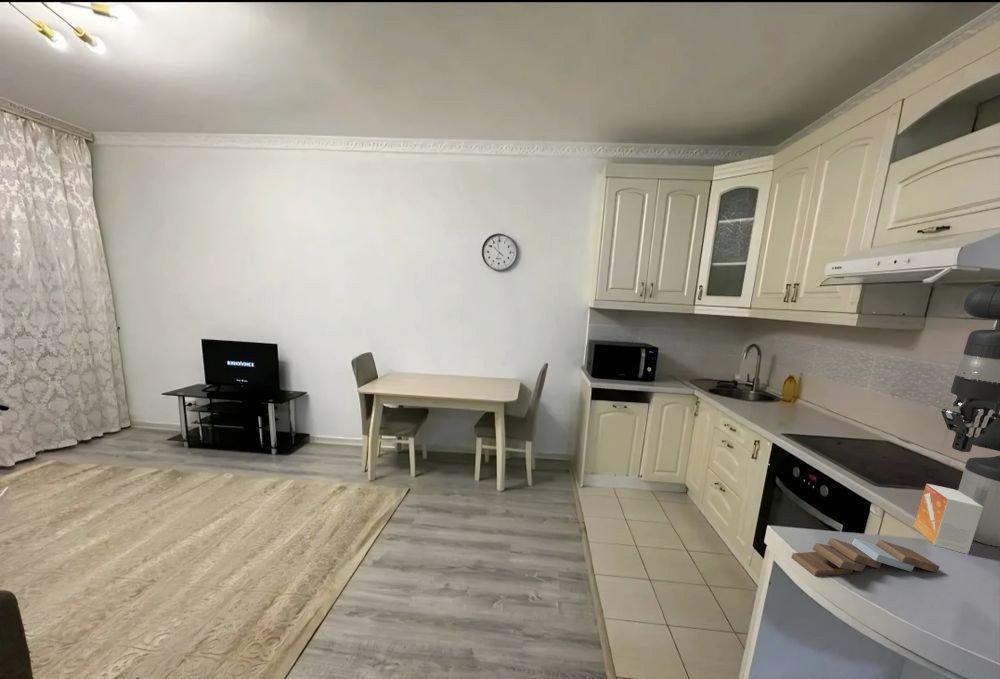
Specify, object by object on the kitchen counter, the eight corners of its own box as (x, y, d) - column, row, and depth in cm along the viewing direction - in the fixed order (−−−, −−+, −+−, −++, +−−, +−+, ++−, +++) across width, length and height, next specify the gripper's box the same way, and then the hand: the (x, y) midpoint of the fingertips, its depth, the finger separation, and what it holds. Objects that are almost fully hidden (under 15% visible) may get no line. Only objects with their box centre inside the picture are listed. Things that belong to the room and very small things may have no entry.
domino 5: (912, 549, 84) (879, 539, 82) (939, 566, 79) (905, 556, 77) (908, 555, 84) (875, 545, 82) (936, 572, 79) (901, 562, 77)
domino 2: (838, 547, 81) (815, 542, 77) (865, 565, 77) (843, 561, 73) (835, 553, 81) (812, 549, 78) (862, 571, 77) (839, 567, 73)
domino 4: (888, 548, 83) (854, 538, 82) (914, 565, 78) (879, 554, 77) (885, 554, 83) (851, 544, 82) (911, 571, 78) (875, 560, 77)
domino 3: (855, 545, 83) (830, 537, 80) (882, 562, 78) (857, 554, 75) (851, 551, 83) (827, 543, 80) (878, 568, 79) (853, 561, 75)
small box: (912, 526, 96) (925, 482, 94) (945, 535, 93) (959, 490, 91) (933, 545, 88) (947, 498, 86) (969, 555, 86) (985, 506, 84)
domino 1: (828, 550, 81) (792, 553, 79) (853, 568, 76) (815, 571, 75) (826, 557, 81) (791, 559, 80) (851, 574, 77) (813, 577, 75)
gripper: (983, 374, 82) (962, 444, 85) (935, 371, 81) (915, 442, 83) (1034, 384, 75) (1009, 459, 77) (982, 380, 73) (958, 457, 76)
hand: (960, 450), depth 80 cm, fingers closed
